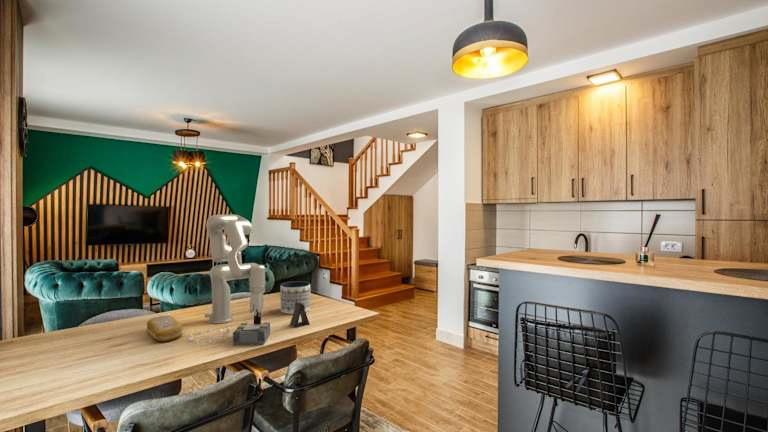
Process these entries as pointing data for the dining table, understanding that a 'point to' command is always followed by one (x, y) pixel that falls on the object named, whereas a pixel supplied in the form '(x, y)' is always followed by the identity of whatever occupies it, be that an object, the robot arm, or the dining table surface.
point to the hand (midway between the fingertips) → (257, 324)
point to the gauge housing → (251, 336)
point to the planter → (294, 296)
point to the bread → (164, 328)
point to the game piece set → (208, 331)
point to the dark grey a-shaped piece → (297, 312)
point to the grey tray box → (252, 327)
